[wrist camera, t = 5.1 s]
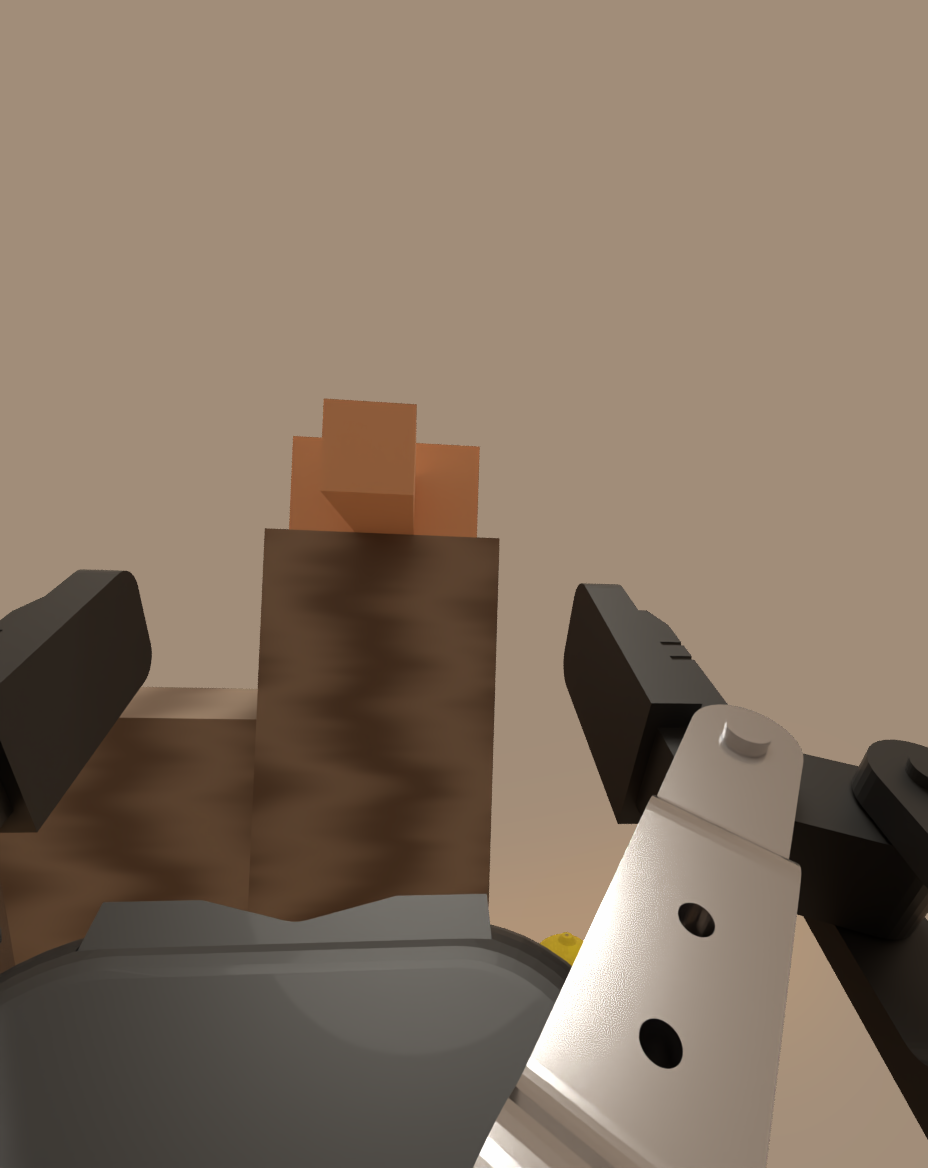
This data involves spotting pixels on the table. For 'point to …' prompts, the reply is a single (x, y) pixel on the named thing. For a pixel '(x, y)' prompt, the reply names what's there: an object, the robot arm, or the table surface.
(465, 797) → the step stand
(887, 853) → the robot arm
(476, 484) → the orange block
